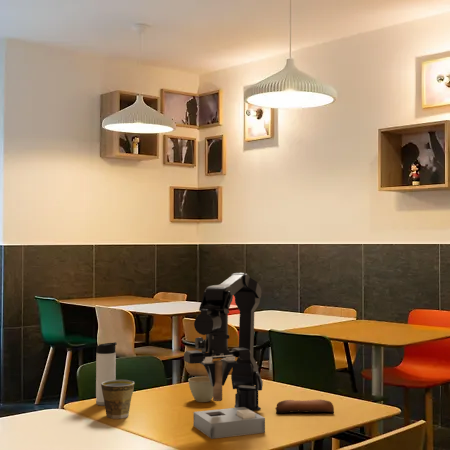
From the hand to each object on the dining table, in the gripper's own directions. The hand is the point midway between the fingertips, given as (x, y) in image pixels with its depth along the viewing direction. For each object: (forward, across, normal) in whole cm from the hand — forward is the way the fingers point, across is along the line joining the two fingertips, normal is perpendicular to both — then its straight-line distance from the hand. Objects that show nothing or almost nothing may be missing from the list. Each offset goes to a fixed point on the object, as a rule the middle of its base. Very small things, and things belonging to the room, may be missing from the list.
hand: (217, 385), depth 192 cm
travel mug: (+12, +23, -42) cm, 49 cm away
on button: (+9, -7, +5) cm, 12 cm away
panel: (+12, -2, +2) cm, 12 cm away
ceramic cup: (+12, +24, -26) cm, 37 cm away
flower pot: (+12, -8, -34) cm, 37 cm away
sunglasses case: (+13, -32, -8) cm, 36 cm away
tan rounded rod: (+4, 0, 0) cm, 4 cm away
